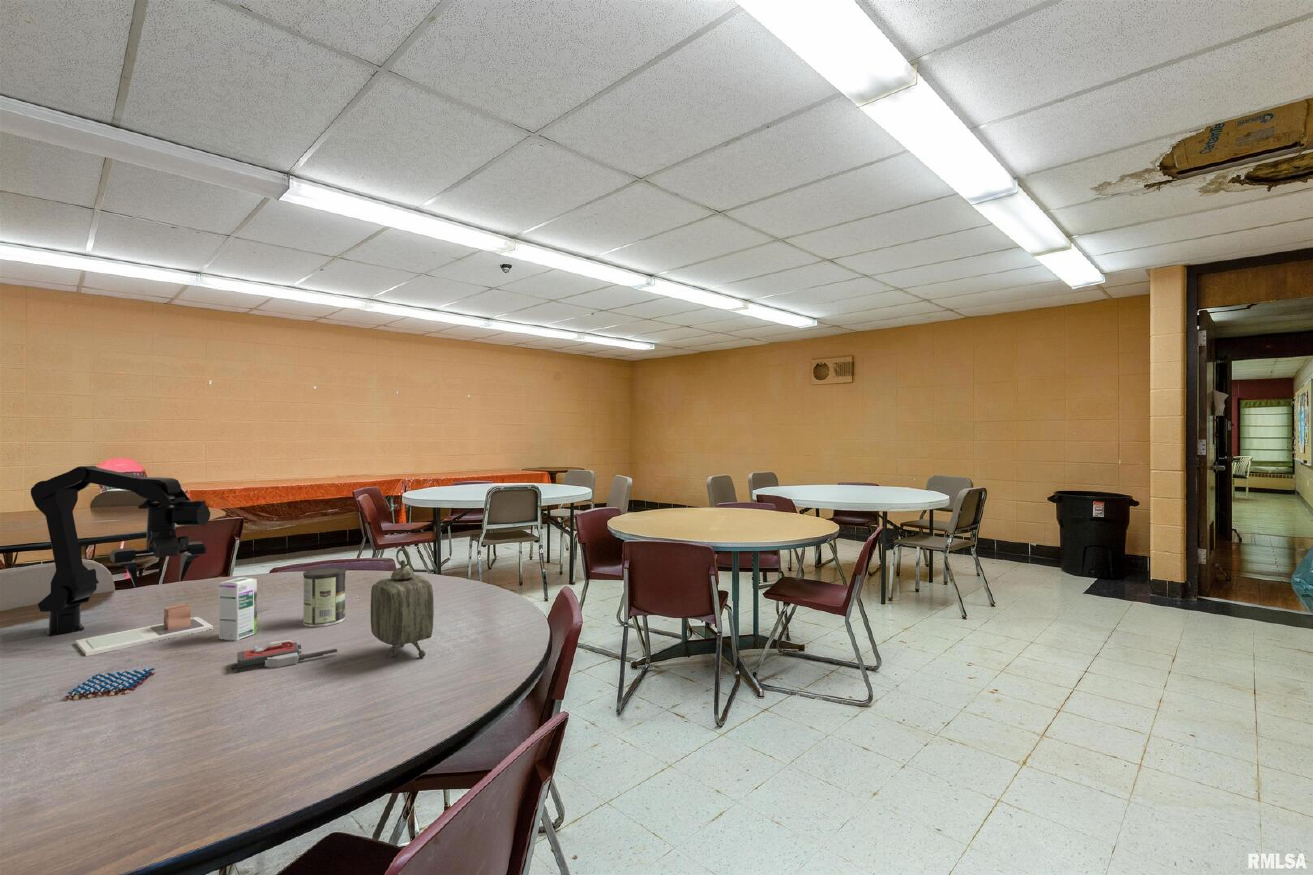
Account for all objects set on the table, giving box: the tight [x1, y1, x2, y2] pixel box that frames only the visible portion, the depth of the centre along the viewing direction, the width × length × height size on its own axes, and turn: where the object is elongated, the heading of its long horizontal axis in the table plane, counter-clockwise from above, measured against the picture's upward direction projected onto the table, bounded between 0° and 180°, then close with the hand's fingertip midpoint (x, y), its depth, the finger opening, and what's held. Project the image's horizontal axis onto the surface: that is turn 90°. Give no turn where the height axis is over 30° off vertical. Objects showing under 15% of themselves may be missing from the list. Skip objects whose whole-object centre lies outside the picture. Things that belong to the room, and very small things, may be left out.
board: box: [75, 616, 214, 657], centre depth 145 cm, size 13×24×1 cm, turn 143°
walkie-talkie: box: [230, 638, 338, 673], centre depth 130 cm, size 9×4×20 cm
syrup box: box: [218, 576, 258, 642], centre depth 145 cm, size 6×6×14 cm
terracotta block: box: [163, 603, 192, 630], centre depth 150 cm, size 4×4×5 cm
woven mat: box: [64, 667, 156, 702], centre depth 116 cm, size 10×11×2 cm
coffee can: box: [302, 566, 347, 628], centre depth 158 cm, size 10×10×14 cm
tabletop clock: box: [370, 547, 435, 658], centre depth 134 cm, size 14×9×25 cm, turn 47°
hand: (158, 583), depth 152 cm, fingers open, 9 cm apart
